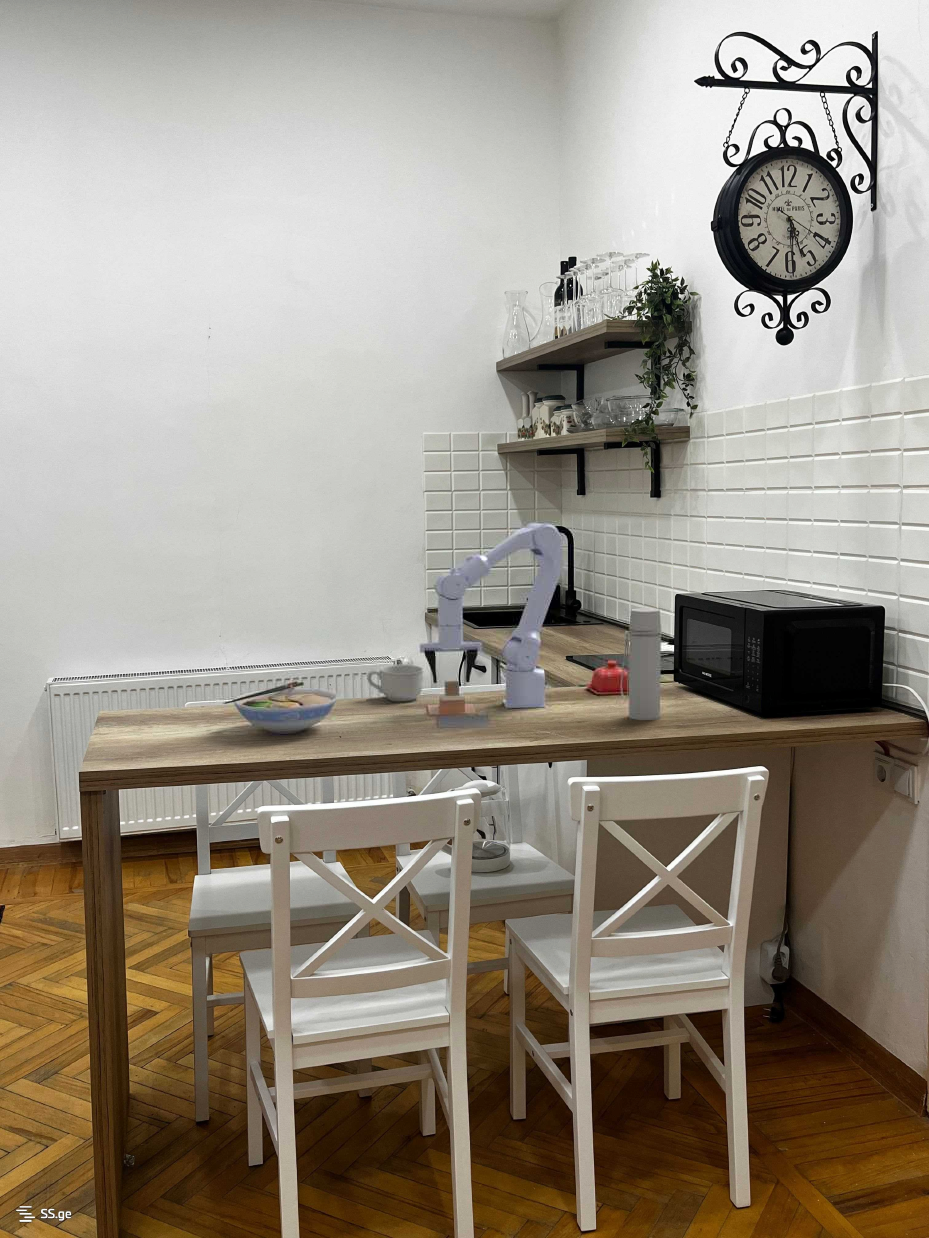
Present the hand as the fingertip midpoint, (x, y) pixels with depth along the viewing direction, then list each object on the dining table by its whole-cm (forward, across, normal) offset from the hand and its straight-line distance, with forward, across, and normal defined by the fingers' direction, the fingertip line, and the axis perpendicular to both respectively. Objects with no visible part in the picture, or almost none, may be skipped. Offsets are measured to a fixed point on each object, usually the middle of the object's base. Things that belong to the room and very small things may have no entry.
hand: (451, 681), depth 252 cm
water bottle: (+7, -42, +14) cm, 45 cm away
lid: (+3, 0, +2) cm, 4 cm away
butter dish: (+8, -42, -18) cm, 47 cm away
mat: (+7, -2, +13) cm, 15 cm away
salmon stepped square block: (+7, 0, 0) cm, 7 cm away
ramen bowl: (+7, +37, +16) cm, 41 cm away
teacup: (+7, +13, -16) cm, 22 cm away
